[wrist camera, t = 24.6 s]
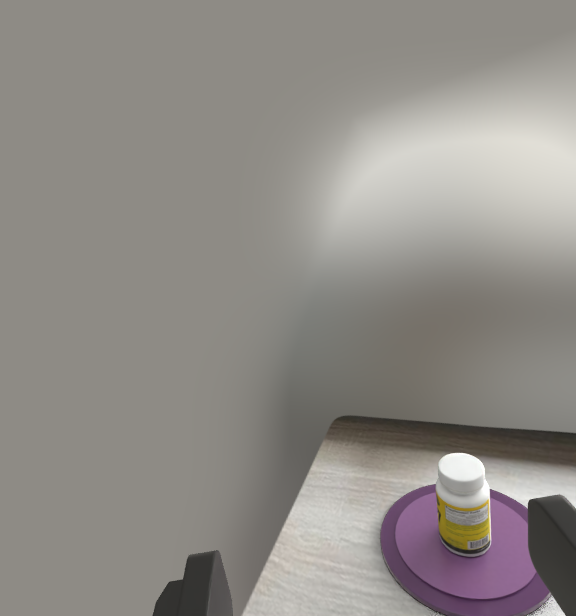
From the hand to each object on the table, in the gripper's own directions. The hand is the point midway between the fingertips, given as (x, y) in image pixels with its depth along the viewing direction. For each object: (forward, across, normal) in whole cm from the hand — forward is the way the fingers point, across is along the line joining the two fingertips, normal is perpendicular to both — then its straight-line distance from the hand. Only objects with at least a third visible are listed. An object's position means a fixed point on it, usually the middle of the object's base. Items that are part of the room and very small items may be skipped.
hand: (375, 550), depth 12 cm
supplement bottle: (+25, -12, +27) cm, 39 cm away
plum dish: (+25, -12, +28) cm, 40 cm away
